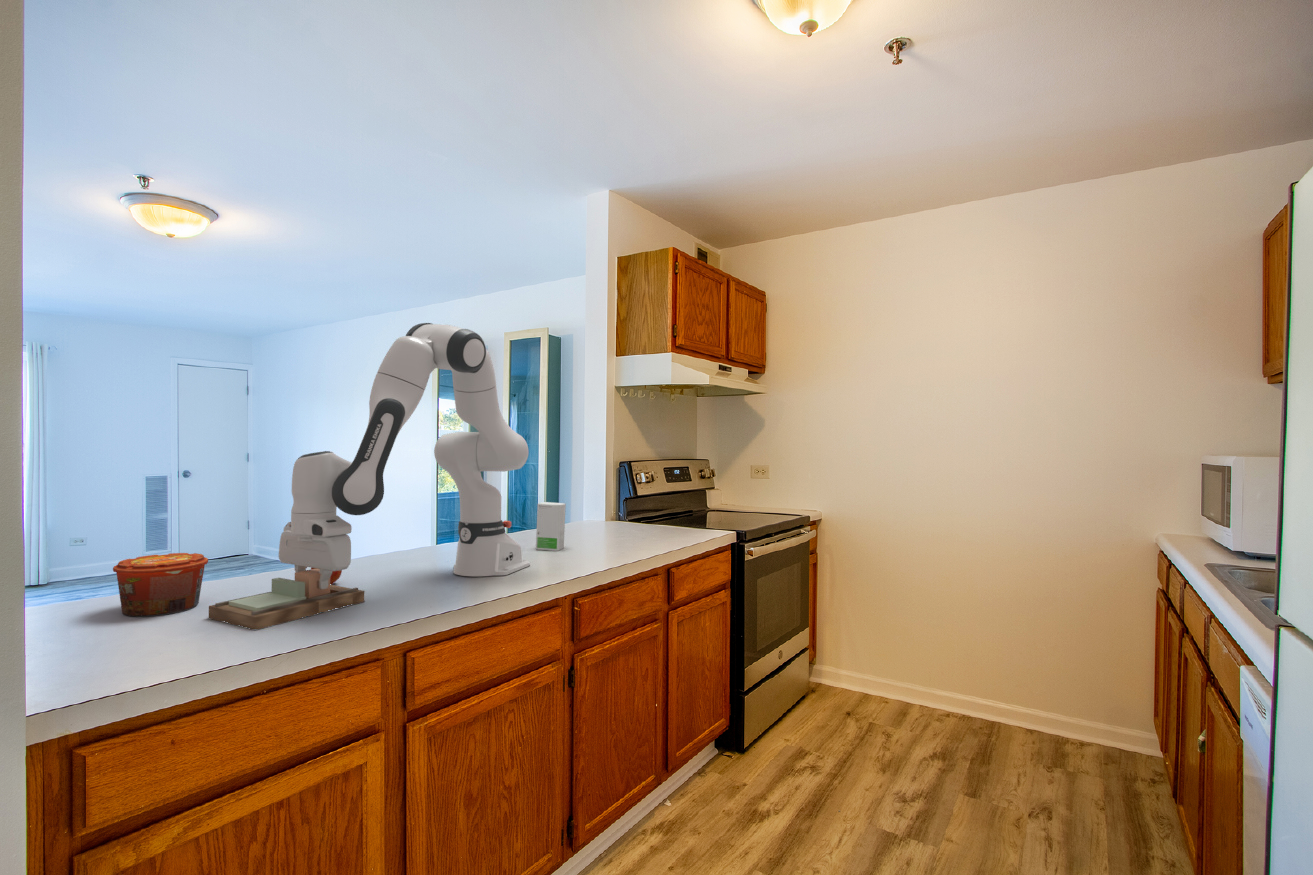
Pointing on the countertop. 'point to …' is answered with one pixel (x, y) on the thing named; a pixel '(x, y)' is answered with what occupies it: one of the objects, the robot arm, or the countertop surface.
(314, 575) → the terracotta block
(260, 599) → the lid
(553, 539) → the skincare box
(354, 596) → the puzzle board
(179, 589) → the food container
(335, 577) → the fruit
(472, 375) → the robot arm
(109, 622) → the countertop surface
